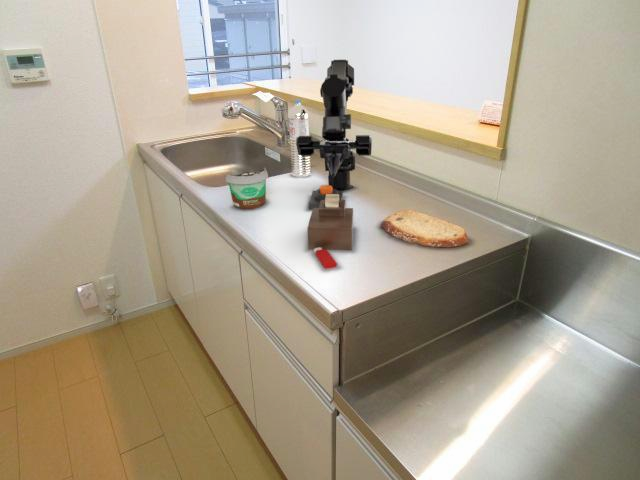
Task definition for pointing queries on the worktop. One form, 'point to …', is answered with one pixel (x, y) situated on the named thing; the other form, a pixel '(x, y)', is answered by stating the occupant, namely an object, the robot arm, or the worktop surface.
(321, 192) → the power button
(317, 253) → the lighter
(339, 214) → the stand
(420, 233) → the bread slice
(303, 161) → the water bottle
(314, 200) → the power block
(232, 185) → the food container
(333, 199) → the beige block
